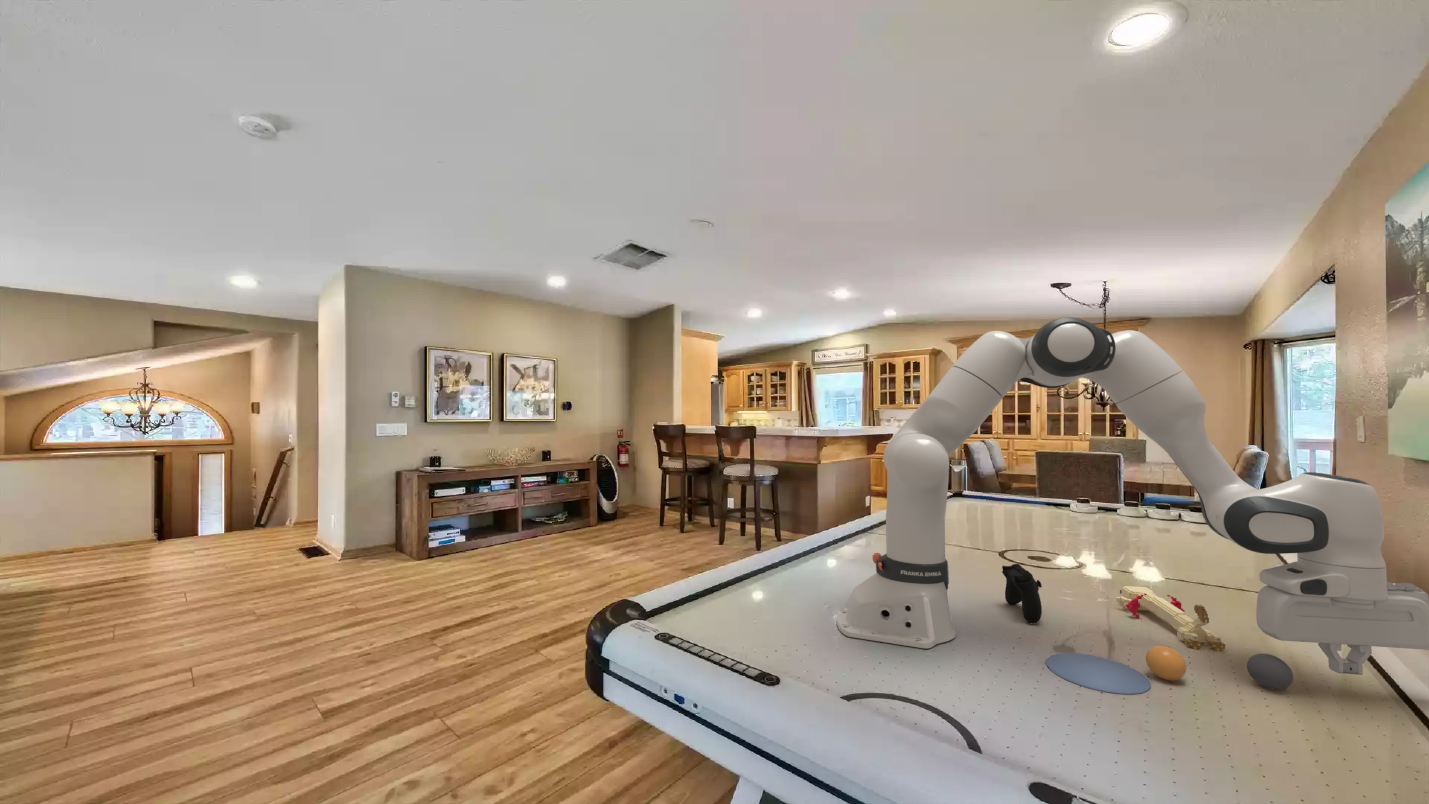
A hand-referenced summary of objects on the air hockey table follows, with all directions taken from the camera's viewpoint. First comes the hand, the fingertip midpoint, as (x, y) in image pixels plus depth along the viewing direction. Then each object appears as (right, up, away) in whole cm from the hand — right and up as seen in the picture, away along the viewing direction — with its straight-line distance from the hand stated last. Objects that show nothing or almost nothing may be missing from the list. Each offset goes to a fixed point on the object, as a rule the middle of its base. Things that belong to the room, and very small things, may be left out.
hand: (1345, 672), depth 81 cm
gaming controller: (-29, -5, +34) cm, 45 cm away
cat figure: (-4, -5, +28) cm, 29 cm away
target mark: (-33, -4, +7) cm, 34 cm away
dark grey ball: (-10, -1, +2) cm, 10 cm away
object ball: (-23, -1, +5) cm, 24 cm away
